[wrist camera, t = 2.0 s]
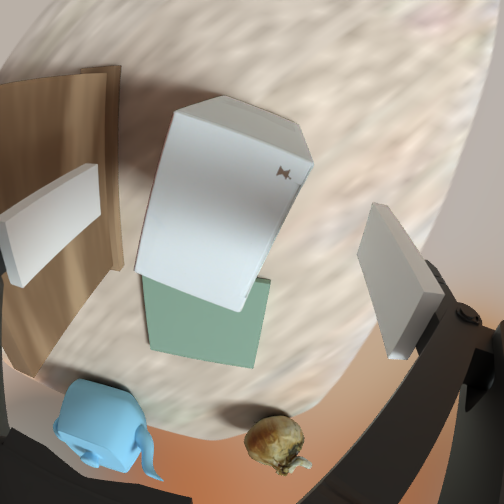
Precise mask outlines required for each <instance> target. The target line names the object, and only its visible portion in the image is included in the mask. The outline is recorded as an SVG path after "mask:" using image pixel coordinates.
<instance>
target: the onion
mask: <svg viewBox="0 0 504 504" xmlns="http://www.w3.org/2000/svg"><path fill="white" fill-rule="evenodd" d="M253 422H254V421H253ZM255 423H257V422H255ZM303 443H304V435H303V433H302V430H301V428H300V426H299V425H298V424H297V423H296V422H294V421H293V420H292V419H290V418H288V417H286V416H272V417H268V418H264V419H261V420H260V421H259V422H258V423H257V424H255V425H254V426H253V427H252V428H251V429H250V430H249V431H248V433H247V434H246V436H245V439H244V444H245V447H246V449H247V451H248V454H249V456H250V457H251V458H252V459H254V460H256V461H258V462H259V463H262V464H264V465H269V466H272V467H273V468H274V469H276V470H277V471H276V473H277V474H278V475H284V476H286V475H287V474H288V473H289V472H290V473H292V472H293V471H294V469H295V467H296V466H298V465H300V466H303V467H305V468H308V469H310V468H311V466H312V463H311V462H310V461H308V460H307V459H305V458H303V457H300V456H297V454H298V453H299V452H300V450H301V449H302V446H303Z"/></svg>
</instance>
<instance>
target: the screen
mask: <svg viewBox="0 0 504 504" xmlns="http://www.w3.org/2000/svg"><path fill="white" fill-rule="evenodd" d="M120 75H121V66H104V67H93V68H84V69H81V74H76V75H64V76H54V77H46V78H38V79H31V80H24V81H18V82H12V83H6V84H1V85H0V214H2V213H3V212H5V211H6V210H8V209H9V208H11V207H12V206H14V205H15V204H17V203H18V202H20V201H21V200H23V199H25V198H26V197H28V196H29V195H31V194H33V193H34V192H36V191H37V190H39V189H41V188H42V187H44V186H46V185H47V184H49V183H51V182H53V181H54V180H56V179H58V178H60V177H61V176H63V175H65V174H67V173H68V172H70V171H72V170H74V169H76V168H78V167H80V166H81V165H83V164H85V163H89V164H98V181H99V196H100V209H101V215H100V216H99V217H98V218H96V219H95V220H94V221H93V222H92V223H91V224H89V225H88V226H87V227H86V228H85V229H84V230H83V231H82V232H80V233H79V234H78V235H77V236H76V237H75V238H74V239H73V240H72V241H71V242H69V243H68V244H67V245H66V246H65V247H64V248H63V249H62V250H61V251H60V252H59V253H58V254H57V255H56V256H55V257H54V258H53V259H51V260H50V261H49V262H48V263H47V264H46V265H45V266H44V267H43V268H42V269H41V270H40V271H39V272H38V273H37V274H36V275H35V276H34V277H33V278H32V279H31V280H30V281H29V283H28V284H27V285H26V286H25V287H24V288H21V287H18V286H15V285H12V284H11V283H10V280H9V277H8V274H7V271H6V272H5V273H4V274H3V275H2V279H3V283H4V289H3V304H2V347H3V349H4V351H5V352H6V354H7V356H8V358H9V360H10V362H11V363H12V365H13V367H14V369H16V370H18V371H20V372H22V373H24V374H27V375H29V376H31V377H33V378H35V376H36V374H37V373H38V371H39V370H40V368H41V366H42V365H43V363H44V362H45V360H46V359H47V357H48V355H49V354H50V352H51V351H52V349H53V348H54V346H55V345H56V343H57V342H58V340H59V339H60V337H61V336H62V335H63V333H64V332H65V330H66V329H67V327H68V326H69V324H70V323H71V322H72V320H73V319H74V317H75V316H76V314H77V313H78V312H79V310H80V309H81V308H82V306H83V305H84V303H85V302H86V301H87V299H88V298H89V297H90V295H91V294H92V293H93V291H94V290H95V289H96V287H97V286H98V285H99V283H100V282H101V281H102V279H103V278H104V277H105V275H106V274H107V273H108V272H109V270H115V271H120V270H121V269H122V268H123V266H124V258H123V248H122V236H121V223H120V208H119V186H118V111H119V90H120Z"/></svg>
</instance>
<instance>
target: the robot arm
mask: <svg viewBox="0 0 504 504" xmlns="http://www.w3.org/2000/svg"><path fill="white" fill-rule="evenodd" d="M100 215H101V209H100V196H99V181H98V164H89V163H85V164H83V165H81V166H80V167H78V168H76V169H74V170H72V171H70V172H68V173H67V174H65V175H63V176H61V177H60V178H58V179H56V180H54V181H53V182H51V183H49V184H47V185H46V186H44V187H42V188H41V189H39V190H37V191H36V192H34V193H33V194H31V195H29V196H28V197H26V198H25V199H23V200H21V201H20V202H18V203H17V204H15V205H14V206H12V207H11V208H9V209H8V210H6V211H5V212H3V213H2V214H0V504H193V502H192V498H190V497H186V496H181V495H177V494H173V493H169V492H165V491H161V490H158V489H154V488H151V487H147V486H144V485H140V484H132V483H122V482H114V481H105V480H99V479H92V478H87V477H84V476H82V475H81V474H79V473H78V472H77V471H75V470H74V469H73V468H71V467H70V466H69V465H68V464H66V463H65V462H64V461H63V460H62V459H60V458H59V457H58V456H57V455H55V454H54V453H53V452H52V451H51V450H50V449H48V448H47V447H46V446H44V445H43V444H41V443H39V442H37V441H35V440H33V439H31V438H29V437H28V436H26V435H24V434H22V433H21V432H19V431H17V430H15V429H14V428H11V429H10V427H9V424H8V419H7V412H6V404H5V394H4V383H3V370H2V304H3V289H4V283H3V279H2V275H3V274H4V273H5V272H6V271H7V274H8V277H9V280H10V283H11V284H12V285H15V286H18V287H21V288H24V287H25V286H26V285H27V284H28V283H29V281H30V280H31V279H32V278H33V277H34V276H35V275H36V274H37V273H38V272H39V271H40V270H41V269H42V268H43V267H44V266H45V265H46V264H47V263H48V262H49V261H50V260H51V259H53V258H54V257H55V256H56V255H57V254H58V253H59V252H60V251H61V250H62V249H63V248H64V247H65V246H66V245H67V244H68V243H69V242H71V241H72V240H73V239H74V238H75V237H76V236H77V235H78V234H79V233H80V232H82V231H83V230H84V229H85V228H86V227H87V226H88V225H89V224H91V223H92V222H93V221H94V220H95V219H96V218H98V217H99V216H100ZM357 256H358V259H359V262H360V265H361V268H362V271H363V274H364V278H365V281H366V284H367V287H368V290H369V293H370V297H371V300H372V303H373V306H374V310H375V313H376V317H377V320H378V323H379V327H380V331H381V334H382V338H383V342H384V345H385V349H386V353H387V357H388V358H389V359H403V360H408V358H409V357H410V355H411V354H412V352H413V350H414V349H415V347H416V349H417V352H418V354H419V357H418V359H417V360H416V361H415V363H414V365H413V366H412V367H411V369H410V370H409V372H408V373H407V375H406V376H405V377H404V379H403V381H402V382H401V384H400V385H399V387H398V388H397V389H396V391H395V392H394V394H393V395H392V396H391V398H390V399H389V401H388V402H387V403H386V405H385V406H384V407H383V409H382V410H381V411H380V413H379V414H378V415H377V416H376V418H375V419H374V420H373V422H372V423H371V424H370V425H369V427H368V428H367V429H366V430H365V431H364V433H363V434H362V435H361V437H359V439H358V440H357V441H356V442H355V443H354V445H353V446H352V447H351V448H350V449H349V450H348V451H347V453H346V454H345V455H344V456H343V457H342V458H341V459H340V460H339V461H338V463H337V464H336V465H335V466H334V467H333V468H332V469H331V470H330V471H329V472H328V473H327V474H326V475H325V476H324V477H323V478H322V479H321V480H320V482H318V483H317V484H316V485H315V486H314V487H313V488H312V489H311V490H310V491H309V492H308V493H307V494H306V495H305V496H304V497H303V498H302V499H301V500H300V501H299V502H298V503H296V504H398V503H399V502H400V500H401V499H402V497H403V496H404V494H405V493H406V491H407V490H408V488H409V487H410V485H411V483H412V482H413V480H414V479H415V477H416V475H417V474H418V472H419V471H420V469H421V467H422V466H423V464H424V462H425V460H426V458H427V457H428V455H429V453H430V451H431V449H432V448H433V446H434V444H435V442H436V440H437V438H438V436H439V434H440V432H441V430H442V428H443V426H444V424H445V422H446V420H447V418H448V416H449V414H450V411H451V409H452V407H453V405H454V403H455V400H456V398H457V396H458V393H459V391H460V395H459V404H458V411H457V418H456V425H455V431H454V436H453V442H452V447H451V452H450V457H449V461H448V466H447V470H446V475H445V478H444V482H443V486H442V490H441V493H440V497H439V501H438V504H504V320H503V321H501V323H500V324H499V326H498V327H497V329H496V330H492V329H490V328H487V327H485V326H482V320H481V318H480V316H479V315H478V313H477V312H476V311H475V310H474V309H472V308H471V307H470V306H468V305H466V304H464V303H459V302H457V301H456V299H455V298H454V296H453V294H452V292H451V291H450V289H449V288H448V286H447V285H446V283H445V281H444V280H443V278H441V275H440V273H439V271H438V270H437V268H436V267H434V265H432V264H431V263H430V262H429V261H428V260H424V259H423V257H422V256H421V254H420V252H419V251H418V249H417V248H416V246H415V245H414V243H413V242H412V240H411V239H410V237H409V236H408V234H407V233H406V231H405V230H404V228H403V227H402V225H401V224H400V222H399V221H398V219H397V218H396V217H395V215H394V214H393V212H392V211H391V210H390V208H389V207H388V206H387V205H383V204H378V203H374V202H373V203H372V206H371V210H370V213H369V217H368V220H367V223H366V227H365V230H364V233H363V237H362V240H361V243H360V246H359V249H358V252H357Z"/></svg>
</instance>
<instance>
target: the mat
mask: <svg viewBox="0 0 504 504" xmlns="http://www.w3.org/2000/svg"><path fill="white" fill-rule="evenodd" d="M142 280H143V291H144V301H145V310H146V318H147V327H148V334H149V342H150V349H151V350H155V351H160V352H164V353H169V354H173V355H178V356H183V357H188V358H193V359H198V360H204V361H209V362H215V363H220V364H226V365H232V366H239V367H245V368H252V369H253V368H254V363H255V358H256V353H257V348H258V344H259V339H260V334H261V329H262V324H263V319H264V314H265V309H266V304H267V299H268V294H269V289H270V282H271V280H267V279H261V278H256V279H255V281H254V283H253V286H252V288H251V290H250V292H249V294H248V297H247V299H246V301H245V304H244V306H243V309H242V310H241V312H235V311H232V310H230V309H227V308H224V307H222V306H219V305H216V304H214V303H211V302H208V301H206V300H203V299H200V298H198V297H195V296H193V295H190V294H187V293H185V292H182V291H180V290H177V289H175V288H172V287H170V286H167V285H165V284H162V283H160V282H157V281H155V280H153V279H150V278H148V277H146V276H143V275H142Z"/></svg>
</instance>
